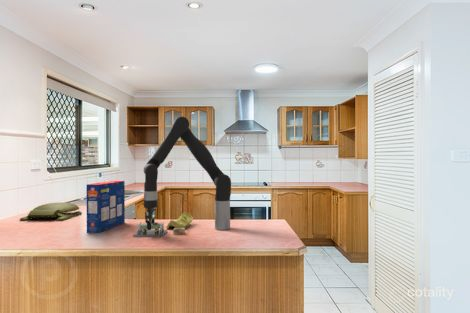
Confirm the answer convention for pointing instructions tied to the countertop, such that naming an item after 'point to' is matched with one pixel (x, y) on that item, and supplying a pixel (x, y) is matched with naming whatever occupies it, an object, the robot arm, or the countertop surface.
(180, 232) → the block
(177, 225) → the plastic component
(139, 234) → the chassis
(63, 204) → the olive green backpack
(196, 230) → the countertop surface
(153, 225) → the board
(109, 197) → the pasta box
